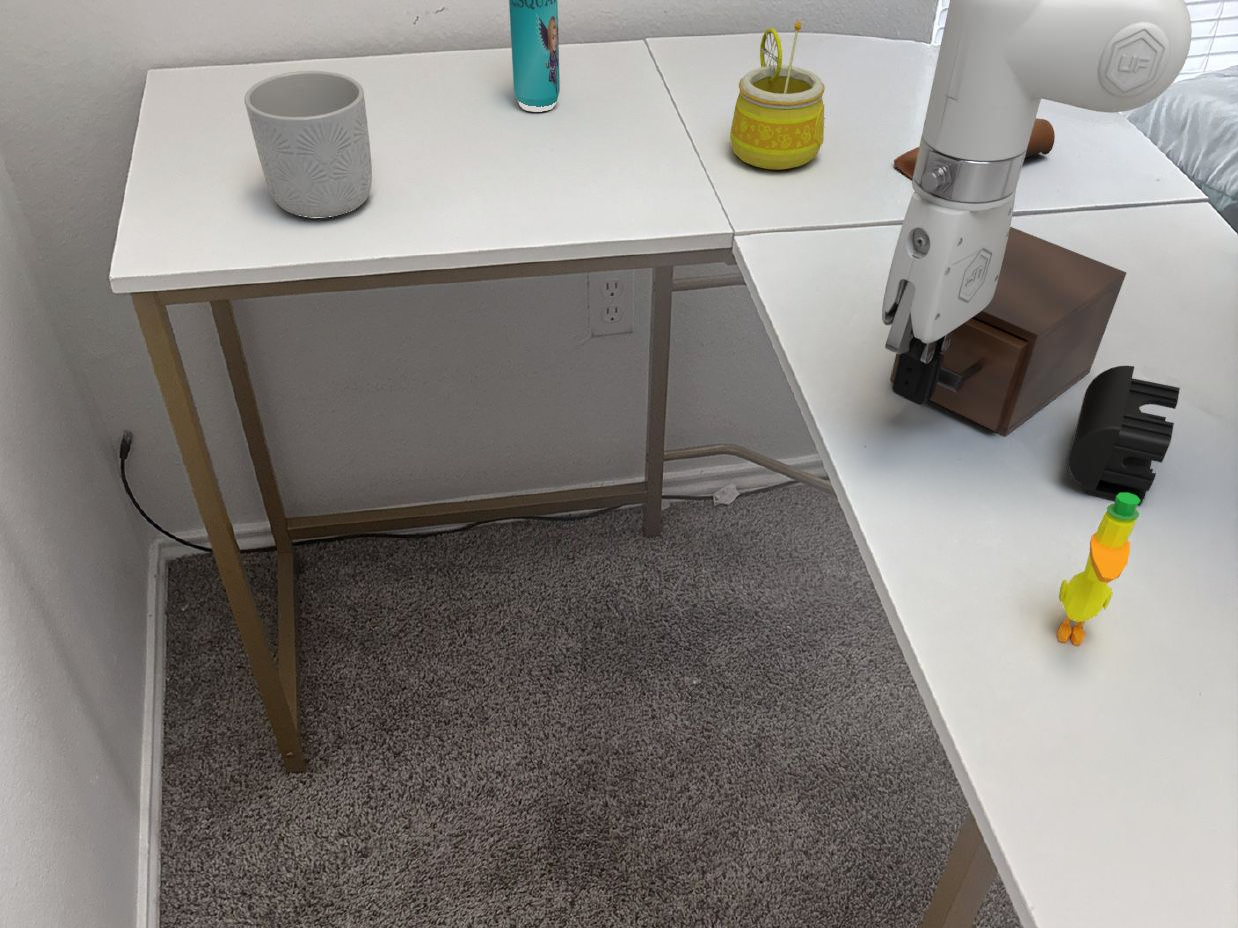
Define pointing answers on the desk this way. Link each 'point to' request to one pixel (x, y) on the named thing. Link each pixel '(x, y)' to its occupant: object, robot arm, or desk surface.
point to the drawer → (978, 372)
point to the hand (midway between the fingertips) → (912, 394)
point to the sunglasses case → (1037, 144)
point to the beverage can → (535, 51)
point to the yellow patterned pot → (778, 112)
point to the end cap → (1120, 434)
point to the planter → (312, 141)
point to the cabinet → (1049, 318)
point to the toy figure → (1099, 568)
